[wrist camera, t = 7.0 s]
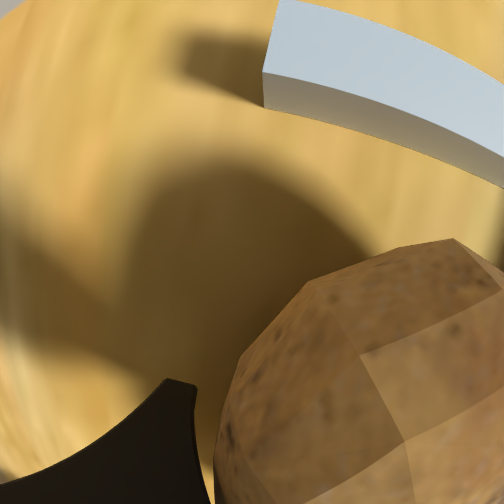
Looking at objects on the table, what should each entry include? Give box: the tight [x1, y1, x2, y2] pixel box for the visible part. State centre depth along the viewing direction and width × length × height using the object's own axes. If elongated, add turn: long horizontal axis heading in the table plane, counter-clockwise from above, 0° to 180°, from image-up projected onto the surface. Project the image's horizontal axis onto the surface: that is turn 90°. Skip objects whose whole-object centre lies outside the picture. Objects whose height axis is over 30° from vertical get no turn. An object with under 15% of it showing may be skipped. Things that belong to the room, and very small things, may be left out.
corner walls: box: [262, 0, 504, 189], centre depth 8 cm, size 16×13×4 cm
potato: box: [213, 238, 504, 504], centre depth 7 cm, size 10×14×8 cm
